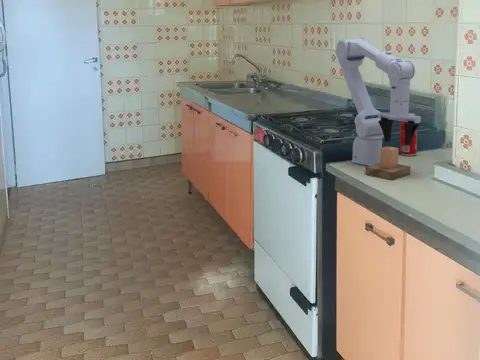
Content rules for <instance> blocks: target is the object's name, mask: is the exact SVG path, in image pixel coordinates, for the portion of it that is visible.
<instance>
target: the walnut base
mask: <svg viewBox="0 0 480 360" xmlns="http://www.w3.org/2000/svg"><path fill="white" fill-rule="evenodd" d="M364 173H365V174H366V176H370V175H372V176H371V177H375V176H377V177H376V178H379V177H381V178H380V179H384V178H385V180H390V181H394V179H395V180H397V178H398V179H400V178H402V177H406V176H408V175H411V166H410V165H406V164H399V163H398V167H394V168H391V169H389V168H384V167H380V163H377V164H374V165H370V166H367V165H366V166H365V172H364Z"/></svg>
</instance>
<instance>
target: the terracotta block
mask: <svg viewBox="0 0 480 360" xmlns="http://www.w3.org/2000/svg"><path fill="white" fill-rule="evenodd" d="M399 153H400V148H399V147H395V146H388V145H386V146H382V148H381V151H380V167H384V168H389V169H391V168H394V167H398V164H399Z"/></svg>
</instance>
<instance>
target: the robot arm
mask: <svg viewBox="0 0 480 360" xmlns="http://www.w3.org/2000/svg"><path fill="white" fill-rule="evenodd" d="M392 53H393V52H391V51H390V50H388V51H382V52H381V51H380V50H379V49H377V48H376V47H374V46H373V45H372V44H371V43H370V41H369V40H368V39H367V40H366V39H365V38H364V37H362V38H349V39H346V38H345V39H344V38H341V39H339V40H338V42H337V43H336V49H335V55H336V58H337V61H338V63H339V66H340V68H341V73H342V75H343V77H344V79H345V82H346V85H347V88H348V90H349V93H350V96H351V98H352V100H353V103H354V106H355V108H356V111H357V115H356V117H355V118H354V124H355V131H356V134H357V136H356V137H355V138H354V140H353V143H352V158H351V159H352V160H351V161H350V162H351V163H352V164H359V165H362V166H366V167H367V166H370V165H374V164H377V163H380V151H381V148H383V139H384V142H385V143H387V142H390V141H391V139H392V129H393V125H394V121H398V122H400V121H406V122H408V123H404V128H405V145H410V144H411V141H412V138H413V135H414V133H415V131H416V129H418V128H419V126H420V123H421V122H422V121H421V120H422V116H419V115H416V116H415V115H410V114H408V113H410V111H409V110H410V107H409V106H410V92H411V91H410V90H411V89H410V88H411V80H412V79H413V78H414V76H415V74H416V73H415V72H416V70H415V69H416V68H415V65H414V64H413V63H412V62H411V60H405V61H403V60H402V58H400V57H397V56H395V55H393V54H392ZM366 58H368V59H370V60H371V61H373V62H375V63H374V64H375V67H376V68H378V69H379V70H380V71H382V72H384V73H385V74H386V75H387V77H388V79H389V85H390V100H389V112H384V111H379V110H378V109H376V108H375V107H374V105H373V102H372V100H371V97H370V95H369V93H368V89H367V88H366V85H365V83H364V81H363V78H362V74H361V73H360V70H359V67H360V66H362V65H363V62H364V61H365V59H366Z"/></svg>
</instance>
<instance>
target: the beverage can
mask: <svg viewBox="0 0 480 360" xmlns="http://www.w3.org/2000/svg"><path fill="white" fill-rule="evenodd" d="M408 114H410V115H415V116H417V114H416V113H415V112H414V113H413V112H408ZM404 123H408V122H406V121H399V134H400V135H399V142H400V143H399V145H400V146H399V147H400V148H399V153H400V155H401V156H404V155H405V156H406V157H408V156H409V157H410V156H411V157H412V156H416V155H417V153H418V151H417V149H418V146H417V145H418V144H417V142H418V141H417V140H418V138H417V137H418V133H417V131H418V130H417V129H418V128H417V129H416V131H415V133H414V135H413V138H412V141H411V144H410V145H405V128H404Z"/></svg>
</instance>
